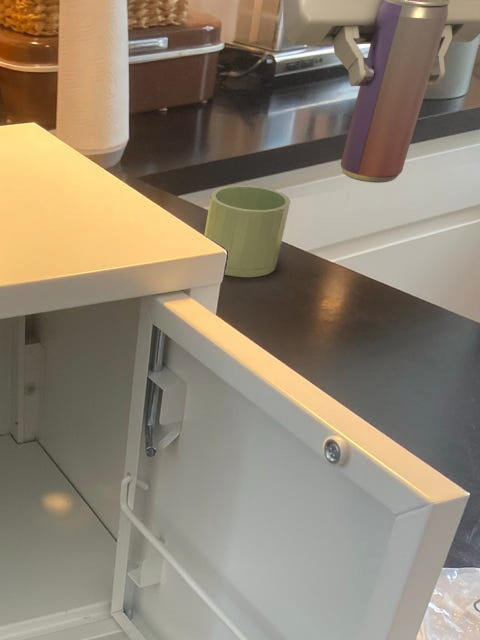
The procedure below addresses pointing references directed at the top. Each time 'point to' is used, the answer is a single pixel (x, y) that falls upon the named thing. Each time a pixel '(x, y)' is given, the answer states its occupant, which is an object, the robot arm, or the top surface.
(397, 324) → the top surface
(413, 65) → the beverage can
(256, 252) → the tumbler
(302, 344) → the top surface
